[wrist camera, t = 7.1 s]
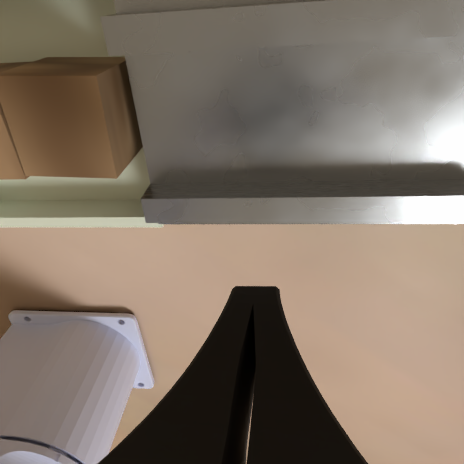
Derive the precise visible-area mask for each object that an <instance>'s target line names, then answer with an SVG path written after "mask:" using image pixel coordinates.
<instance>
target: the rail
mask: <svg viewBox="0 0 464 464" xmlns="http://www.w3.org/2000/svg"><path fill="white" fill-rule="evenodd" d="M114 5H115V10H116V14H111V15H106V16H101V17H100V19H101V23H102V28H103V32H104V37H105V41H106V46H107V50H108V55H109V56H122V55H125V60H126V65H127V70H128V75H129V80H130V85H131V90H132V95H133V100H134V105H135V110H136V115H137V120H138V124H139V129H140V134H141V139H142V144H143V149H144V154H145V159H146V164H147V169H148V174H149V179H150V185H149V186H148V188H147V190H146V191H145V193H144V194H143V196H142V197H141V204H142V208H143V213H144V217H145V222H146V223H158V224H463V223H464V0H114Z"/></svg>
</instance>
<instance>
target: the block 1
mask: <svg viewBox="0 0 464 464" xmlns="http://www.w3.org/2000/svg"><path fill="white" fill-rule="evenodd" d="M27 63H30V62H13V63H0V72H3V71H6V70H9V69H12V68H15V67H18V66H21V65H24V64H27ZM28 177H29V176H25V173H24V170H23V167H22V164H21V161H20V158H19V156H18V153H17V150H16V147H15V144H14V141H13V138H12V135H11V132H10V129H9V126H8V123H7V121H6V118H5V115H4V112H3V109H2V106H1V103H0V180H8V179H27V178H28Z"/></svg>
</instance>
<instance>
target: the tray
mask: <svg viewBox="0 0 464 464" xmlns="http://www.w3.org/2000/svg"><path fill="white" fill-rule="evenodd" d="M111 14H116V10H115V5H114V0H0V63H13V62H33V61H36V60H40V59H43V58H46V57H125V55H122V56H109V55H108V50H107V46H106V41H105V37H104V32H103V28H102V23H101V19H100V17H101V16H106V15H111ZM149 185H150V179H149V174H148V169H147V164H146V159H145V154H144V149H143V148H142V149H141V150H140V151H139V152H138V154H137V155H136V156H135V157H134V158H133V160H132V161H131V162H130V163H129V165H128V166H127V167H126V168H125V169H124V171H123V172H122V173H121V174H120V176H119V177H118V178H117V179H112V178H78V177H44V176H29V177H28V178H27V179H8V180H0V227H163V226H164V224H158V223H146V222H145V217H144V213H143V208H142V204H141V197H142V196H143V194H144V193H145V191H146V190H147V188H148V186H149Z"/></svg>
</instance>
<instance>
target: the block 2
mask: <svg viewBox="0 0 464 464" xmlns="http://www.w3.org/2000/svg"><path fill="white" fill-rule="evenodd" d="M0 103H1V106H2V109H3V112H4V115H5V118H6V121H7V123H8V126H9V129H10V132H11V135H12V138H13V141H14V144H15V147H16V150H17V153H18V156H19V158H20V161H21V164H22V167H23V170H24V173H25V176H44V177H78V178H112V179H117V178H118V177H119V176H120V174H121V173H122V172H123V171H124V169H125V168H126V167H127V166H128V165H129V163H130V162H131V161H132V160H133V158H134V157H135V156H136V155H137V154H138V152H139V151H140V150H141V149H142V148H143V144H142V139H141V134H140V129H139V124H138V120H137V115H136V110H135V105H134V100H133V95H132V90H131V85H130V80H129V75H128V70H127V65H126V60H125V57H46V58H43V59H40V60H36V61H33V62H30V63H27V64H24V65H21V66H18V67H15V68H12V69H9V70H6V71H3V72H0Z"/></svg>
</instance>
